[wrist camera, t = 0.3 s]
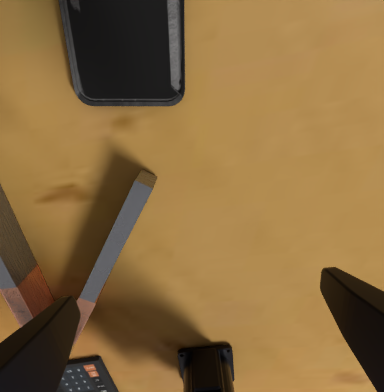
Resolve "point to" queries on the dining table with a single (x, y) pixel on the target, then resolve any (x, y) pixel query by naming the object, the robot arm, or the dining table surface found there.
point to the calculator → (86, 376)
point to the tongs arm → (114, 245)
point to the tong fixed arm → (19, 270)
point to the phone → (126, 51)
